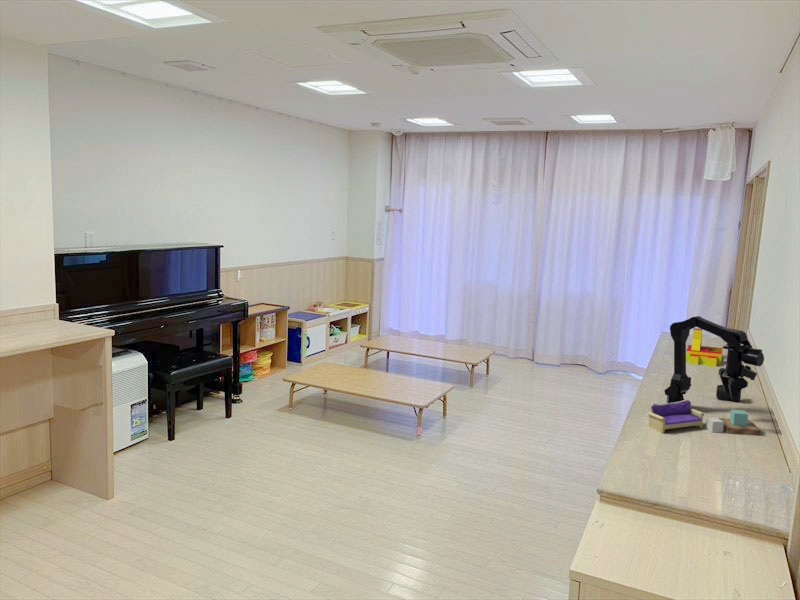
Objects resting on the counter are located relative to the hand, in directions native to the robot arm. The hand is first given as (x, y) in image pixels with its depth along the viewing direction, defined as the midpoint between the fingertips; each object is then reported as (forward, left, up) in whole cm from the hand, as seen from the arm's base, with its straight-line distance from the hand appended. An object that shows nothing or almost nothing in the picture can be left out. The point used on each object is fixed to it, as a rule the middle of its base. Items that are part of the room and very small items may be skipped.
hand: (730, 396), depth 256 cm
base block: (+2, -8, -12) cm, 14 cm away
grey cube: (-9, -11, -12) cm, 18 cm away
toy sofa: (-23, -10, -12) cm, 28 cm away
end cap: (+11, +35, -12) cm, 39 cm away
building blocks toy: (+21, +118, -12) cm, 121 cm away
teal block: (+1, -8, -9) cm, 12 cm away
